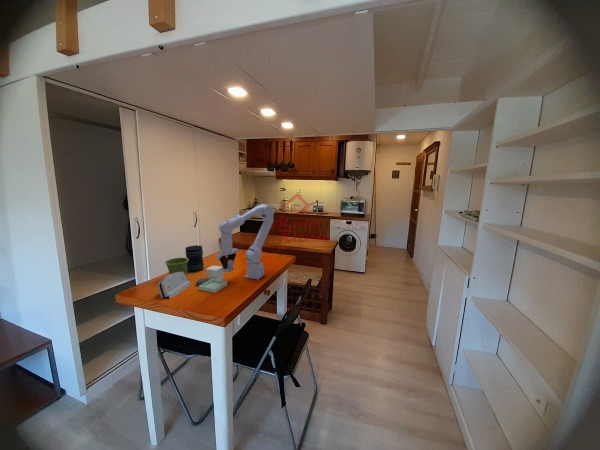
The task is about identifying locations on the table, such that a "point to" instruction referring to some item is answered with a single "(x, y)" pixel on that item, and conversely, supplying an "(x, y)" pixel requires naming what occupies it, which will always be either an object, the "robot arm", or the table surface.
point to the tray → (213, 285)
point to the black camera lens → (194, 259)
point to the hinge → (173, 284)
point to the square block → (201, 281)
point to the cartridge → (229, 266)
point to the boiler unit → (215, 272)
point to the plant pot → (177, 265)
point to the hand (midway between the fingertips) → (228, 267)
